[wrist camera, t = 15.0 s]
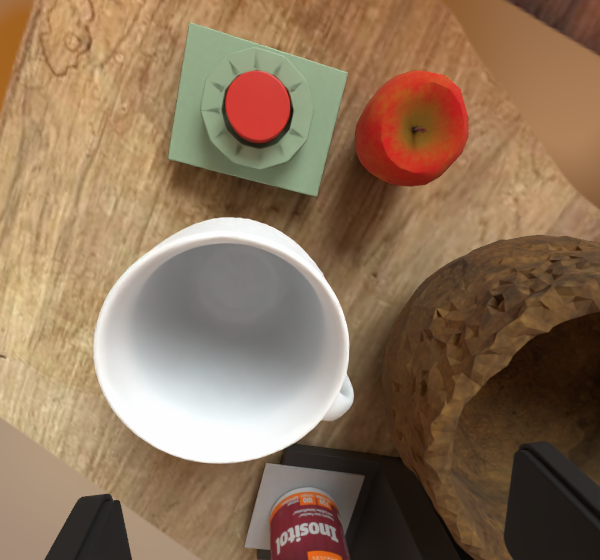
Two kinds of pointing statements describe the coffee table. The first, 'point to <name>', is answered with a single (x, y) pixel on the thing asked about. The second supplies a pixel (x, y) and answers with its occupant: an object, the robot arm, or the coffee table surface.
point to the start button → (257, 106)
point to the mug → (223, 344)
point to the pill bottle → (307, 527)
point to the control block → (218, 131)
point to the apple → (412, 129)
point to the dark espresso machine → (359, 504)
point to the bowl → (496, 376)
